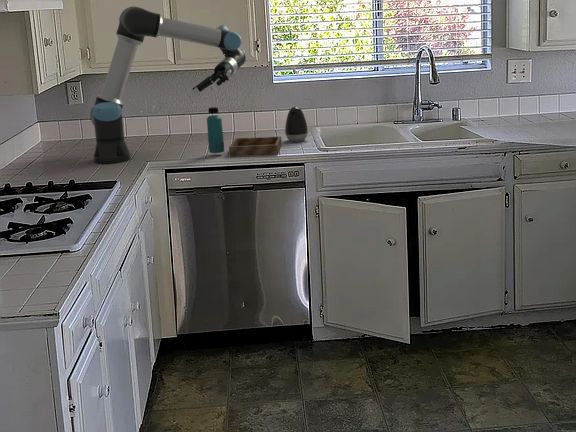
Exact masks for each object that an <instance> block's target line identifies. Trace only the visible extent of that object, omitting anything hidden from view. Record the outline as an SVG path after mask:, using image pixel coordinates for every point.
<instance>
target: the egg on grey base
mask: <svg viewBox="0 0 576 432" xmlns="http://www.w3.org/2000/svg"><path fill="white" fill-rule="evenodd" d="M308 133H309V128H308V123H307V120H306V117H305V114H304V112H303V110H302V109H301V108H300V107H299V106H292V107H291V108H290V109H289V111H288V113H287V116H286V120H285V126H284V134H285V135H286V138H287V140H288V141H290V142H293V143H298V142H299V143H300V142H303V141H304V140H306V139H307V137H308Z"/></svg>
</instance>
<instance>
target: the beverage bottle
mask: <svg viewBox="0 0 576 432" xmlns="http://www.w3.org/2000/svg"><path fill="white" fill-rule="evenodd" d="M218 113H219V108H218V107H217V106H216V107H215V106H214V107H209V108H208V114H213V115H208V116H207V118H206V125H207V126H206V128H207V142H208V144H207V145H208V151H209V153H211V154H220V153H224V152H225V141H224V132H223V131H224V130H223V122H222V121H223V120H222V119H223V118H222V116H220V115H217V114H218ZM214 114H215V115H214Z"/></svg>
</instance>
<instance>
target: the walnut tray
mask: <svg viewBox="0 0 576 432" xmlns="http://www.w3.org/2000/svg"><path fill="white" fill-rule="evenodd" d="M282 145H283V142H282V136H261V137H259V136H258V137H236V138H234V140H233V141H232V143H230V146H228V148H229V157H230V158H231V157H253V156H256V157H258V156H276V155H277V156H278V155H279V153H280V150H281V149H282Z"/></svg>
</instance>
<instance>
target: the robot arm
mask: <svg viewBox="0 0 576 432" xmlns="http://www.w3.org/2000/svg"><path fill="white" fill-rule="evenodd" d="M118 19H119V20H118V27H117V29H116V32H115V35H116V37H117V41H116V42H117V43H116V46H115V48H114V52H113V55H112V59H111V62H110V65H109V69H108V72H107V74H106V78H105V81H104V83H103V88H102V90H101V93H99V94H98V95H96V98H95V101H94V104H93V106H92V108H91V110H90V114H89V117H90V121H91V123H92V125H93V126H94V134H95V135H94V136H95V142H96V143H95V148H94V152H93V162H94V163H95V164H96V163H97V164H115V163H116V164H117V163H122V162H126V161H129V160H131V158H132V157H131V153H130V150H129V147H128V146H127V143H126V141H125V133H124V121H123V110H122V109H123V107H124V102H123V100H122V98H123V94H124V91H125V88H126V85H127V82H128V79H129V75H130V72H131V69H132V66H133V63H134V61H135V60H134V59H135V56H136V53H137V50H138V48H139V46H140V45H142V44H144V43H143V42H144V40H145V37H152V38H158V37H165V38H170V39H173V40H179V41H184V42H190V43H194V44H198V45H199V44H200V45H205V46H210V47H215V48H219V50H220V51H221V53H222V54H223V56H224V58H223V59H222V60H221V61H220V62H219V63H218V64H217V65H216V66H215V67H214V69H213V73H212V74H211V75H210V76H209V75H208V76H207V77H206V78H205V79H203V80H202V81H201V82H199V83H198V84H196V85H195V86H194V87H192V91H191V92H189V93H188V94H187V96H188V98H189V99H190V101H193V100H194V99H195V98H196V97H198V95H200V93H201V92H203V91H204V90H205V89H206V88H208V87H210V88H211V89H212V91H213V92H215V91H217V90H218V89H219V88H220V87H221V86H222V85H223V84H224V83H225V82H226V81H227V82H229V81H230V79H231V77H232V76H233V75H235V73H236V71H238V70H239V68H241V67H242V66H243V65H244V64H245V63H246V62H245V61H247V60H246V54H245V51H244V50H242V49H240V48H239V47H240V46H241V45H242V37H241V35H239V34H238V33H237V32H235V31H230V30H229V28H228V27H227V26H226V25H225V24H221V25H219V26H218V27H216V28H215V27H211V26H205V25H201V24H197V23H191V22H186V21H182V20H177V19H173V18H168V17H164V16H162V15H161V14H160V13H157V12H152V11H150V10H147V9H145V8H142V7H139V6H130V7H127V8H125V9H123V11H122V12H121V13H120V15H119V18H118ZM224 54H225V55H224Z"/></svg>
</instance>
